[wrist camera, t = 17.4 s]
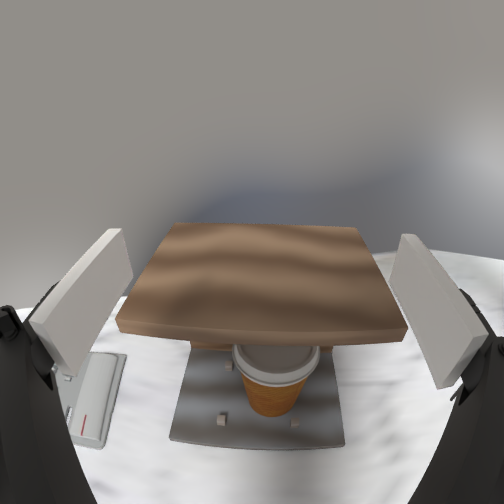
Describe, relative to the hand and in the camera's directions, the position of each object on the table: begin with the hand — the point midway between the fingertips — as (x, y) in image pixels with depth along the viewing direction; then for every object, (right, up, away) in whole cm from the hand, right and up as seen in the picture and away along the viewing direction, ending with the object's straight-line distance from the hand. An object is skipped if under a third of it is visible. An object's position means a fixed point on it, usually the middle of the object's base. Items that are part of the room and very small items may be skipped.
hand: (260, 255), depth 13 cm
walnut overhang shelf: (+1, -20, +24) cm, 31 cm away
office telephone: (-31, -23, +20) cm, 44 cm away
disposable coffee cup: (+2, -20, +22) cm, 30 cm away
